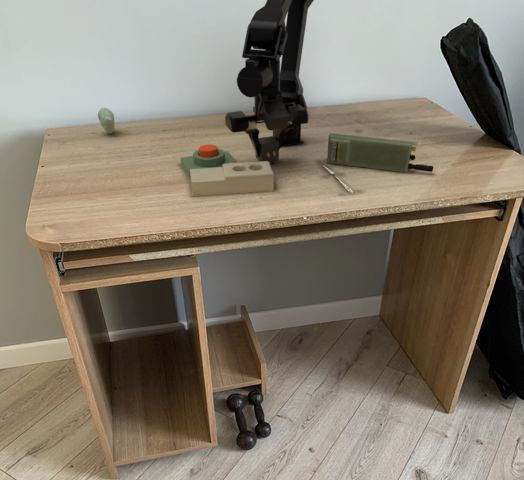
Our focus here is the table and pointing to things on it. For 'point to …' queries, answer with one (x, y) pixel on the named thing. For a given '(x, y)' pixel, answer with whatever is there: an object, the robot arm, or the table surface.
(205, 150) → the switch button
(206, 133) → the table surface
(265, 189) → the electrical outlet
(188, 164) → the switch box
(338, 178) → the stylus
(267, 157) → the charger head
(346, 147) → the handheld radio
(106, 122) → the pale green oval lump
